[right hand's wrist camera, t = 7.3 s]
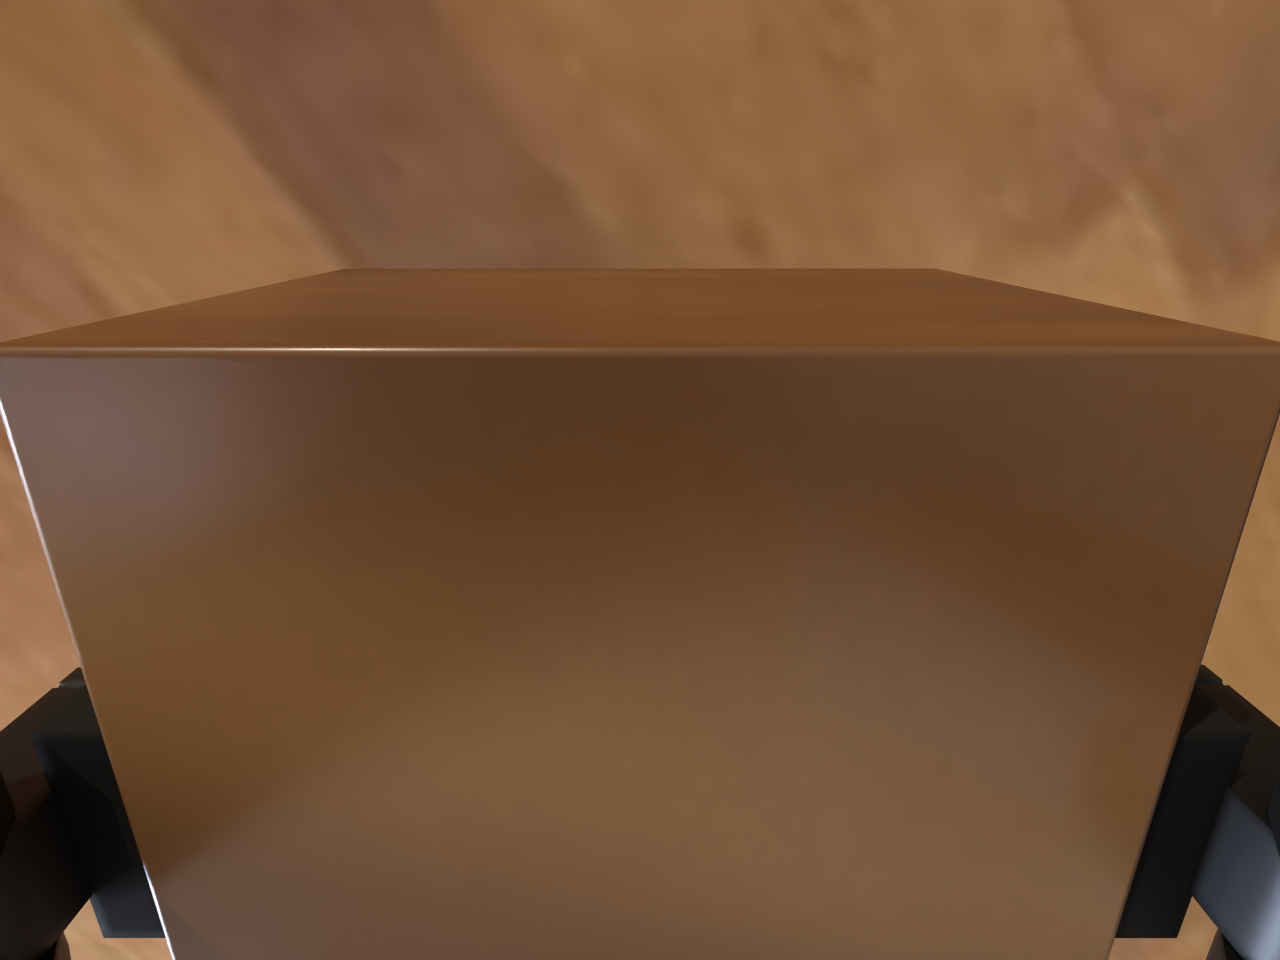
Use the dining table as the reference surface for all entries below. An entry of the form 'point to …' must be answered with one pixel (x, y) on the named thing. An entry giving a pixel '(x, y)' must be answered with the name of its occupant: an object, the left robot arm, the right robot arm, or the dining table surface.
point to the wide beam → (640, 604)
